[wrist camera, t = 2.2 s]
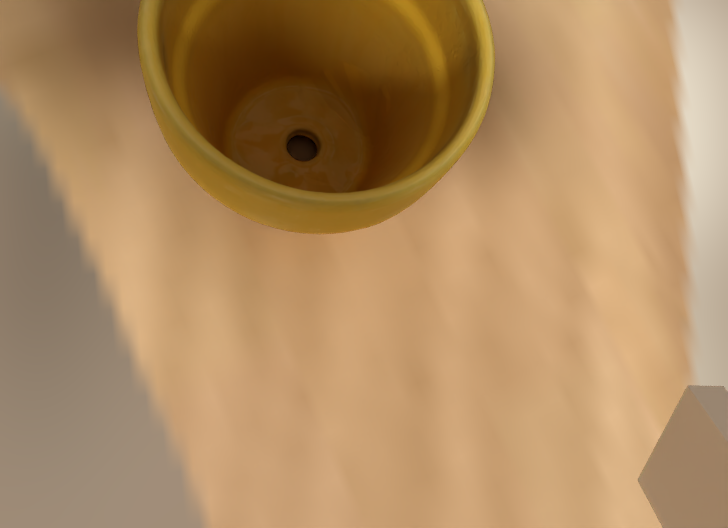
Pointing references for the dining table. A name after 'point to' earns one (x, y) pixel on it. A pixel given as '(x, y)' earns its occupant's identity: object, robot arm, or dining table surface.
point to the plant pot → (317, 100)
